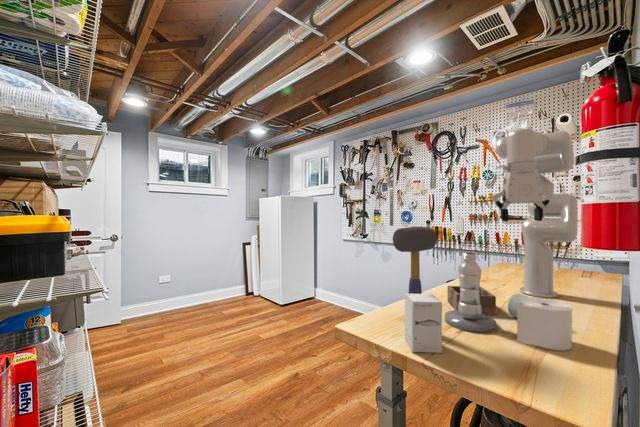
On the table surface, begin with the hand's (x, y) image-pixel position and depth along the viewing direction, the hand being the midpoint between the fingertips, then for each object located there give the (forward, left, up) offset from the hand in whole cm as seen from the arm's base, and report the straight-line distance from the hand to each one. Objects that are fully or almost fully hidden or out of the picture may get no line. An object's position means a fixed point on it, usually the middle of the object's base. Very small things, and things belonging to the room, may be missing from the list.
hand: (521, 220), depth 91 cm
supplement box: (+27, -36, -32) cm, 55 cm away
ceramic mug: (+3, +1, -32) cm, 32 cm away
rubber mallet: (+15, -36, -32) cm, 50 cm away
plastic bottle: (+9, -19, -30) cm, 36 cm away
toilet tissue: (+19, -4, -32) cm, 37 cm away
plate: (+9, -19, -31) cm, 38 cm away
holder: (-6, -14, -31) cm, 35 cm away
